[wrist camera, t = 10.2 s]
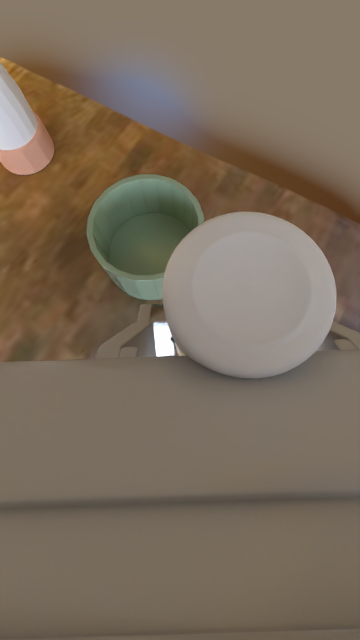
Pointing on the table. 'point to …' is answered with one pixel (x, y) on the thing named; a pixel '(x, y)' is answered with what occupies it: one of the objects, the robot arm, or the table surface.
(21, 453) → the robot arm
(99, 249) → the cup
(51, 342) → the table surface
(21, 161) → the salt shaker
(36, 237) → the table surface
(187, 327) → the sprinkles bottle
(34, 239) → the table surface
